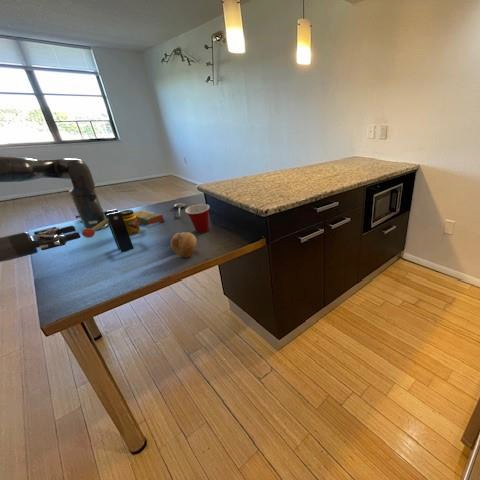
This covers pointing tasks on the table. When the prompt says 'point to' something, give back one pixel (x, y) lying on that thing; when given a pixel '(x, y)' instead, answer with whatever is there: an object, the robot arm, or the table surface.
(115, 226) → the black tall block
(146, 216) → the carton
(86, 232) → the tap lever
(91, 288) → the table surface
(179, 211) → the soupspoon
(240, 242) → the table surface
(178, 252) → the bread roll
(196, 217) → the plastic cup
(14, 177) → the robot arm
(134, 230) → the condiment
